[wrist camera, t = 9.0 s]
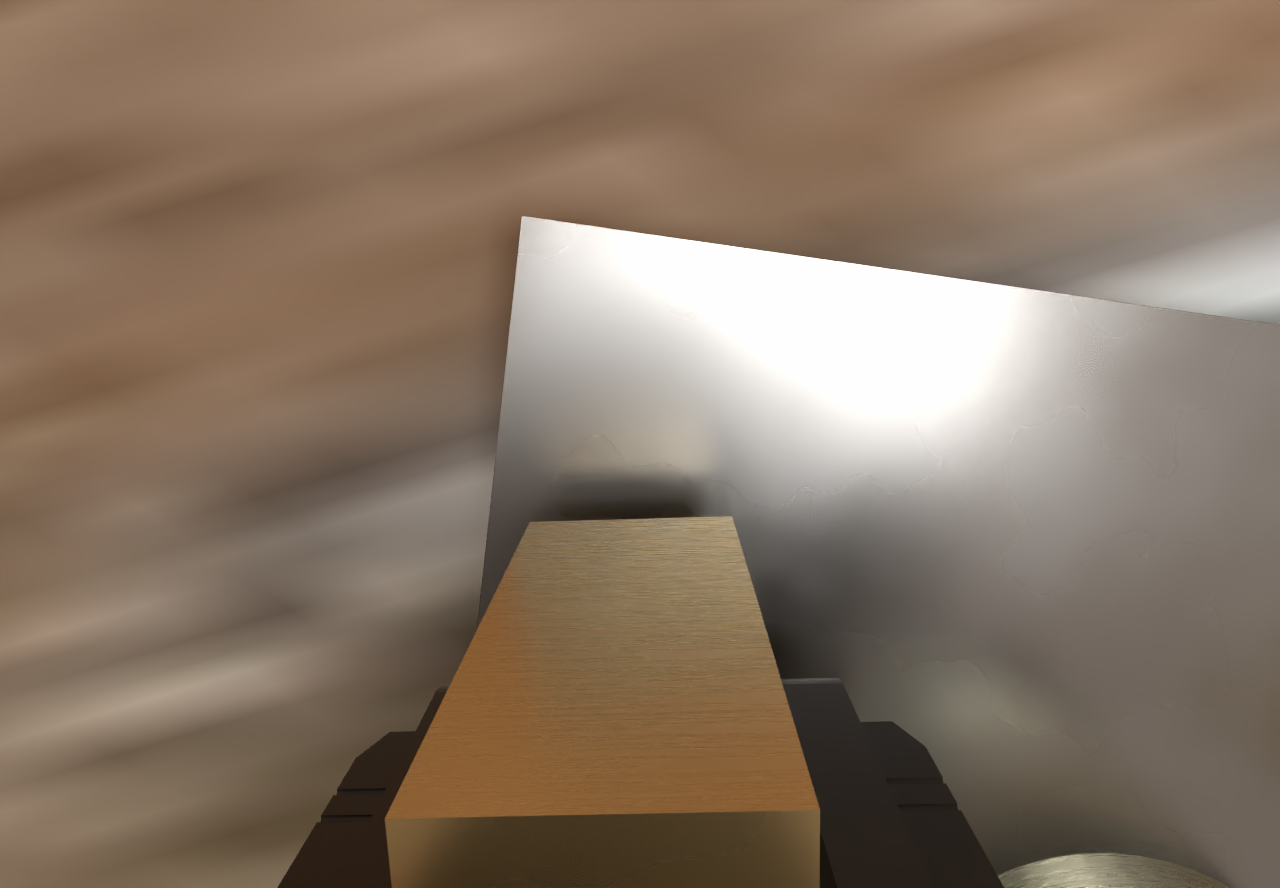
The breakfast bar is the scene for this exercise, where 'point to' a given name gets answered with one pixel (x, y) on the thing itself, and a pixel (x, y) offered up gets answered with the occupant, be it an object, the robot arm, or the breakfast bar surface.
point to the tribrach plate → (947, 521)
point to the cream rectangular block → (613, 726)
